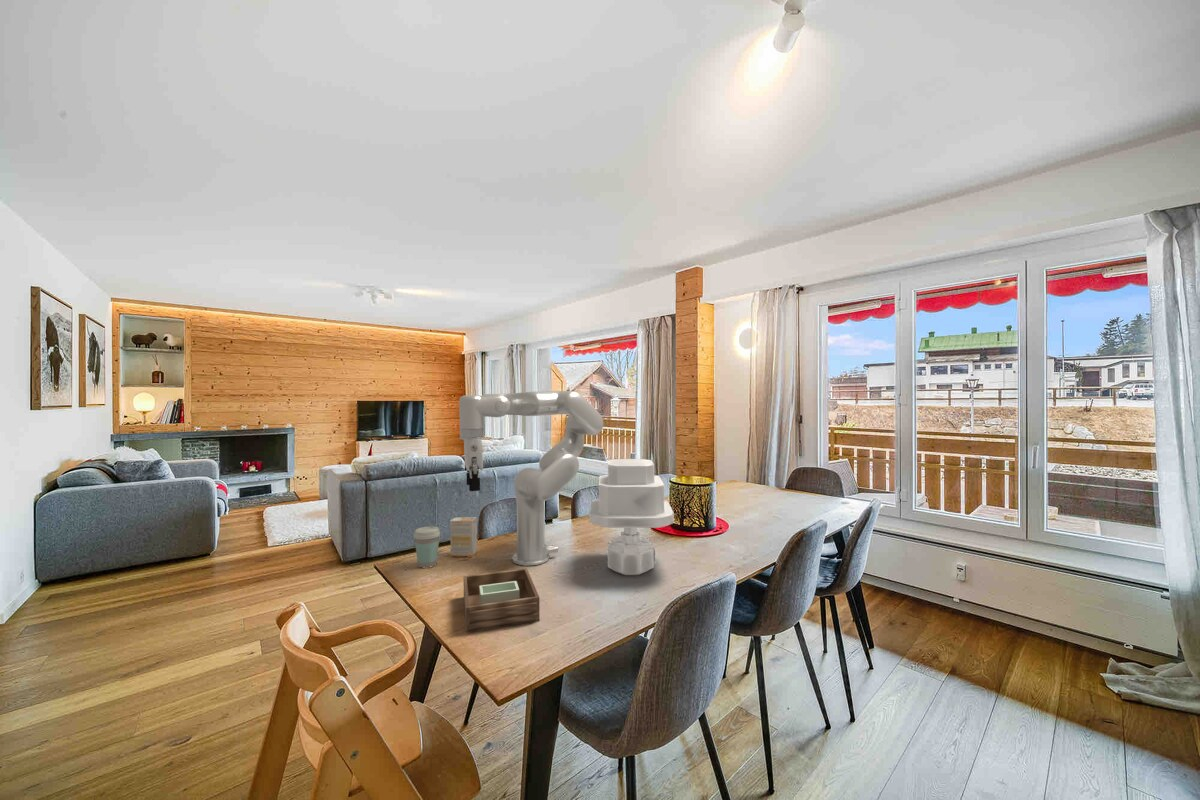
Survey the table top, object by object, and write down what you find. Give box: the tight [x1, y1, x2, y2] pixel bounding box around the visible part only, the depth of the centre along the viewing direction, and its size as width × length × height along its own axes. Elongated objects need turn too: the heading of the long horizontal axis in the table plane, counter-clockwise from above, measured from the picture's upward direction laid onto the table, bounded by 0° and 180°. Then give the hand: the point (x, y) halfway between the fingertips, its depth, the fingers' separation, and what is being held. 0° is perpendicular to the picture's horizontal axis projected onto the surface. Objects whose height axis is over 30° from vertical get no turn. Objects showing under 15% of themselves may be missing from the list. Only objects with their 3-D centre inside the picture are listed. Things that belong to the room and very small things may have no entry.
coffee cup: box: [413, 526, 441, 568], centre depth 154 cm, size 8×9×12 cm
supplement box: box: [449, 516, 478, 558], centre depth 164 cm, size 8×5×13 cm, turn 84°
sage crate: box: [479, 581, 519, 604], centre depth 123 cm, size 10×6×5 cm, turn 108°
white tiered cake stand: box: [588, 458, 675, 576], centre depth 151 cm, size 27×27×35 cm
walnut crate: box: [463, 568, 541, 633], centre depth 123 cm, size 18×21×6 cm
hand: (473, 487), depth 146 cm, fingers open, 9 cm apart
